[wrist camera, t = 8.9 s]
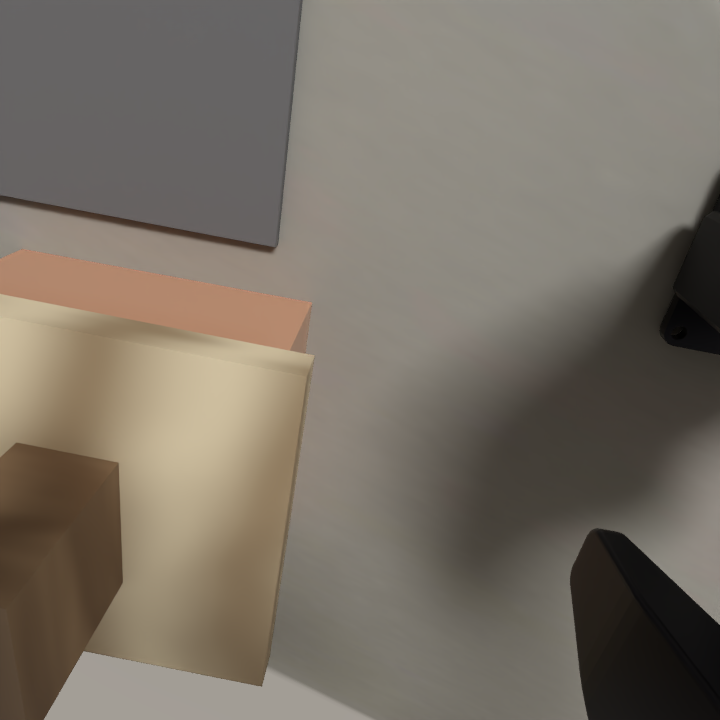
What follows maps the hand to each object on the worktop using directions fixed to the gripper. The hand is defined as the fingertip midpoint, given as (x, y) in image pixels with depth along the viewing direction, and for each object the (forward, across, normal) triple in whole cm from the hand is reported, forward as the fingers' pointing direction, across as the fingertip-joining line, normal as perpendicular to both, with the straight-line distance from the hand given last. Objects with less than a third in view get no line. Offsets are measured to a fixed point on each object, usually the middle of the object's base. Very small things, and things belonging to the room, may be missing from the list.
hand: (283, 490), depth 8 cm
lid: (+7, +7, +8) cm, 13 cm away
